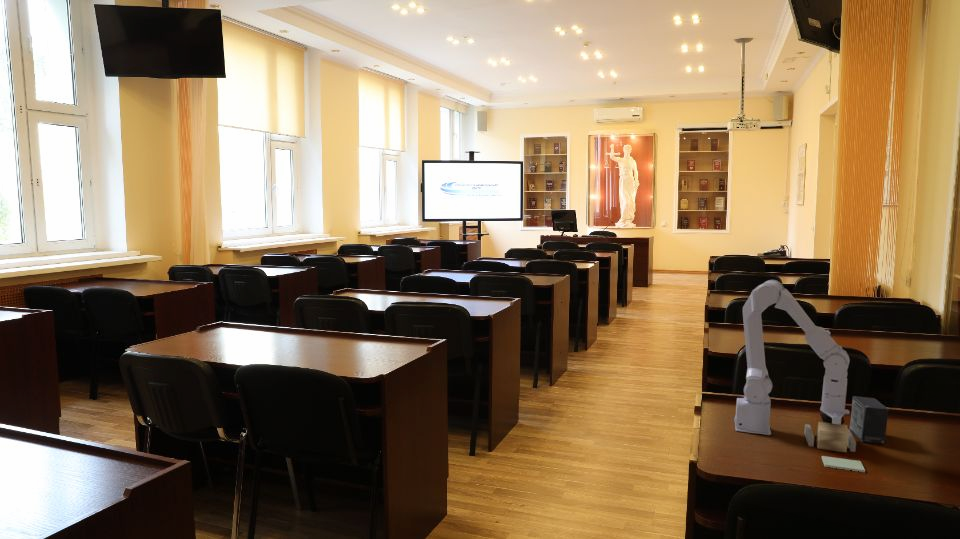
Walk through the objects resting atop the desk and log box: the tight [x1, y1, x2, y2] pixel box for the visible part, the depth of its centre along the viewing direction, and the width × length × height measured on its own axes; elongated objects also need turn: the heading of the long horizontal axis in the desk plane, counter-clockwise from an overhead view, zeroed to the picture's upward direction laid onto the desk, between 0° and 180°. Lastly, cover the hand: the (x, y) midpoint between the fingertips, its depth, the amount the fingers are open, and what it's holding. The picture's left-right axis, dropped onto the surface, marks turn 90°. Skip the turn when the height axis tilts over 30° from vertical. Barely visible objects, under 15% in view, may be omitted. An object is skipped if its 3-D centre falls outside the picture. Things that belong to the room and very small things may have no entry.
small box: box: [848, 395, 889, 445], centre depth 189 cm, size 11×6×10 cm, turn 168°
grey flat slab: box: [804, 424, 857, 453], centre depth 185 cm, size 11×10×3 cm
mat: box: [821, 455, 866, 473], centre depth 170 cm, size 9×6×1 cm, turn 70°
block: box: [815, 421, 849, 453], centre depth 180 cm, size 7×4×6 cm, turn 69°
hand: (830, 440), depth 184 cm, fingers closed
